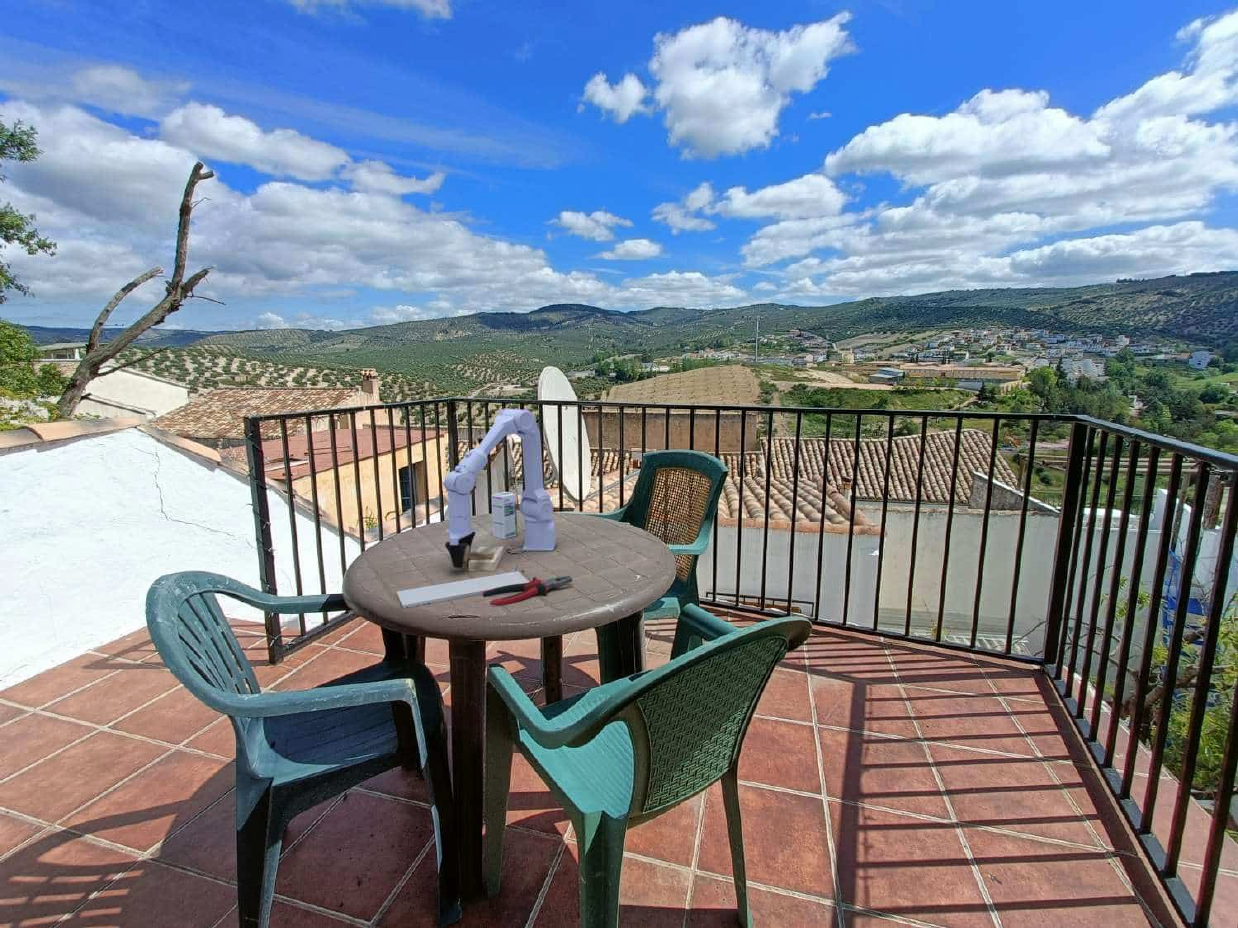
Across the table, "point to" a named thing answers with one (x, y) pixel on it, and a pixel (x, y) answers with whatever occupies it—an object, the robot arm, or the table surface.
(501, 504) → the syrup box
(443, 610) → the table surface
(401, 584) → the table surface
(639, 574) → the table surface
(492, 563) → the plank
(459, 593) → the baseboard
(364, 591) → the table surface
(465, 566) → the wooden mallet
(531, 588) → the pliers
